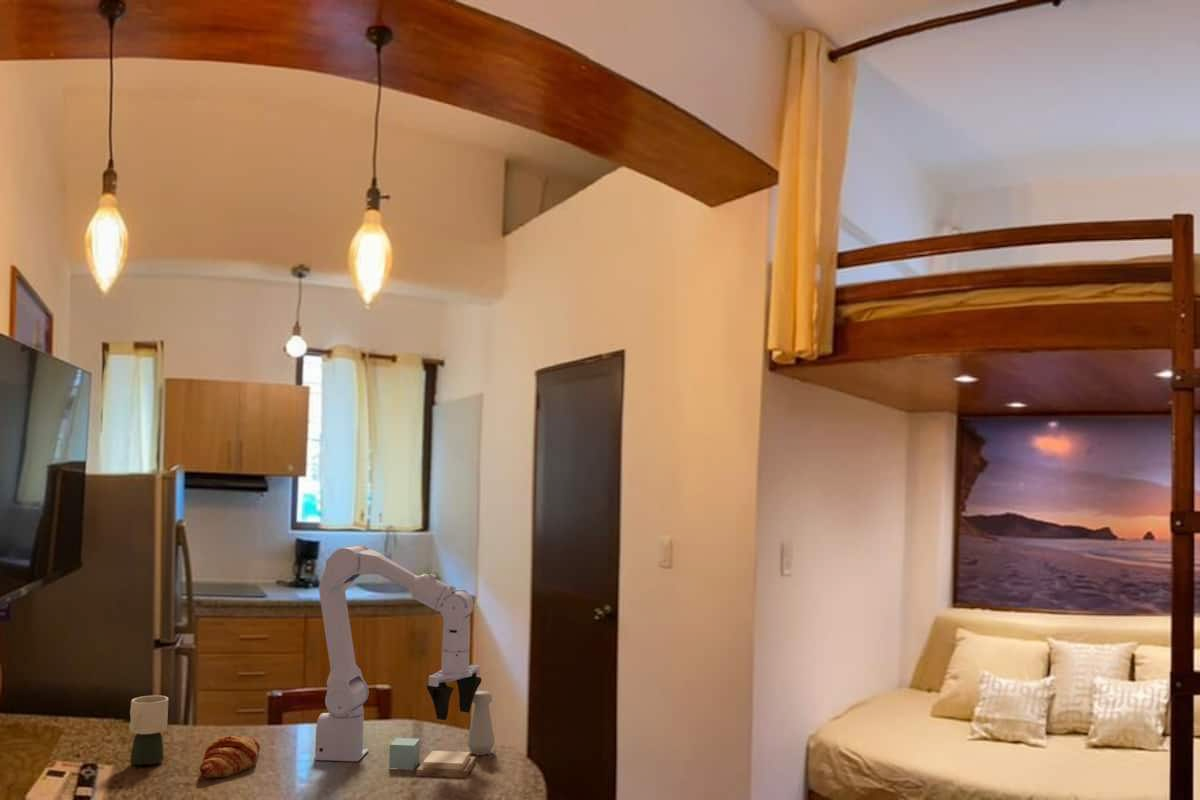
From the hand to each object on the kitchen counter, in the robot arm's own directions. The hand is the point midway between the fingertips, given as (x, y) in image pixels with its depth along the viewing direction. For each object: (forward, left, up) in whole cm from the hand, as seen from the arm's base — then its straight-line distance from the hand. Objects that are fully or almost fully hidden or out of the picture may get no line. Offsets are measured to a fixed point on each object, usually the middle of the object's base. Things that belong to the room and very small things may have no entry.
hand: (453, 715), depth 209 cm
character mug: (-61, -8, -10) cm, 63 cm away
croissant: (-43, -8, -10) cm, 45 cm away
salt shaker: (+5, +7, -10) cm, 13 cm away
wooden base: (0, -4, -10) cm, 11 cm away
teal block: (-9, -3, -10) cm, 14 cm away
